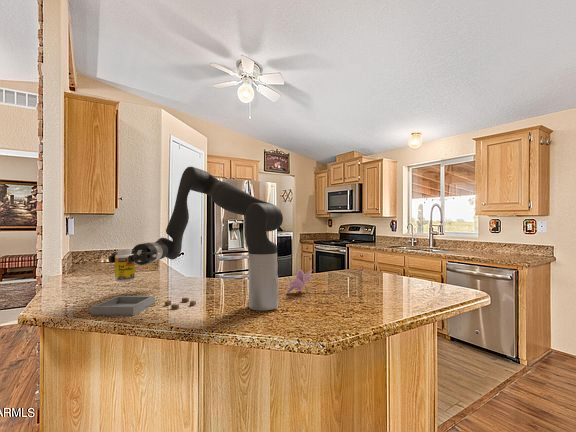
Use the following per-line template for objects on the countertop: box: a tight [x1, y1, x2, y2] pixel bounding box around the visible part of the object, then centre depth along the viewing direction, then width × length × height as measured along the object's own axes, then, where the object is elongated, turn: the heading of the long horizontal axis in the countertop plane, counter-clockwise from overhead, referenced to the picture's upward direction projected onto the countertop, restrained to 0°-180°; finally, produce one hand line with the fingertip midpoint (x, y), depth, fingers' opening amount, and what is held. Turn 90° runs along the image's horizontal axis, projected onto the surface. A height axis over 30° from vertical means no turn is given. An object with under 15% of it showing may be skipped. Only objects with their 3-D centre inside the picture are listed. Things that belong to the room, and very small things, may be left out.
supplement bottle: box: [114, 247, 136, 283], centre depth 98 cm, size 6×6×10 cm
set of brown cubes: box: [164, 297, 197, 310], centre depth 102 cm, size 10×10×1 cm
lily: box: [286, 268, 313, 295], centre depth 115 cm, size 12×12×10 cm
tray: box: [90, 295, 156, 317], centre depth 98 cm, size 13×13×3 cm
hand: (120, 259), depth 95 cm, fingers closed on supplement bottle, 5 cm apart
